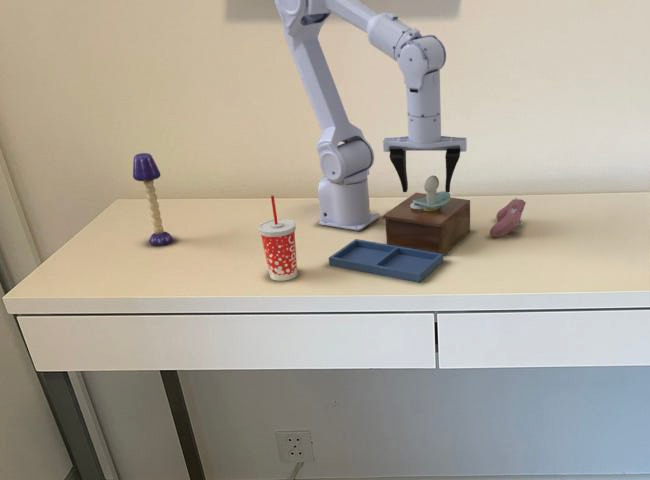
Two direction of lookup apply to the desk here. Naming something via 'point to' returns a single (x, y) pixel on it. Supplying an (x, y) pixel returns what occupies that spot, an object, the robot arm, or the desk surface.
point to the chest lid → (426, 217)
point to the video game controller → (508, 218)
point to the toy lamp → (151, 195)
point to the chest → (429, 233)
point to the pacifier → (431, 196)
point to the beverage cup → (279, 246)
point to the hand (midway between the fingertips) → (426, 190)
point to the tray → (386, 260)
